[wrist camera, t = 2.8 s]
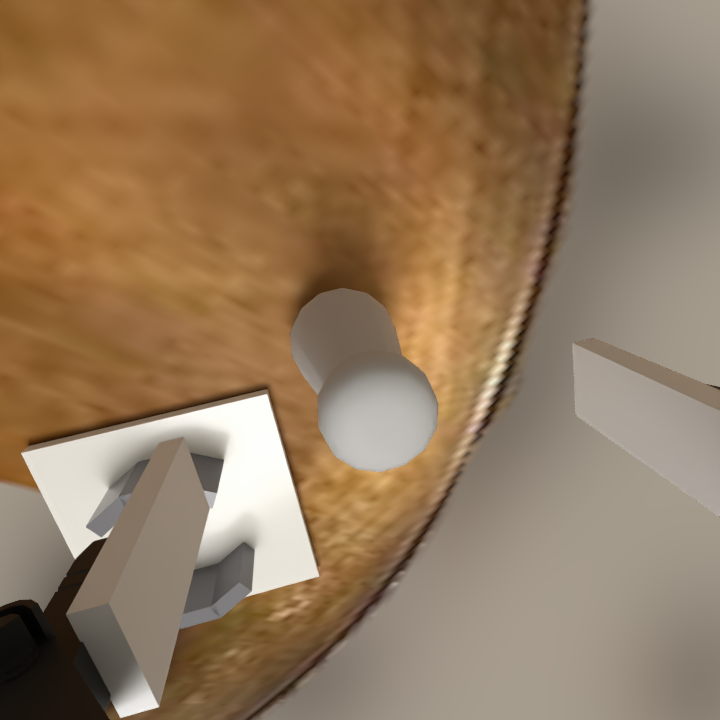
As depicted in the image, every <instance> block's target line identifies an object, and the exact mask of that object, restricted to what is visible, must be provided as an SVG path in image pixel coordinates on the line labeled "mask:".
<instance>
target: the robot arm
mask: <svg viewBox="0 0 720 720" xmlns="http://www.w3.org/2000/svg"><path fill="white" fill-rule="evenodd" d="M572 345H573V366H574V367H573V368H574V389H575V412H576V416H577V417H579V418H580V419H582V420H583V421H584V422H586V423H587V424H589V425H590V426H592V427H593V428H594V429H596V430H597V431H599V432H600V433H601V434H603V435H604V436H606V437H607V438H609V439H610V440H611V441H613V442H614V443H616V444H617V445H618V446H620V447H621V448H623V449H624V450H626V451H627V452H628V453H630V454H631V455H633V456H634V457H636V458H637V459H638V460H640V461H641V462H643V463H644V464H646V465H647V466H648V467H650V468H651V469H652V470H654V471H655V472H657V473H658V474H660V475H661V476H662V477H664V478H665V479H667V480H668V481H669V482H671V483H672V484H674V485H675V486H677V487H678V488H679V489H681V490H682V491H684V492H685V493H686V494H688V495H689V496H691V497H692V498H694V499H695V500H696V501H698V502H699V503H701V504H702V505H703V506H705V507H706V508H708V509H709V510H711V511H712V512H713V513H715V514H716V515H718V516H719V517H720V387H717V386H712V385H708V384H704V383H701V382H699V381H697V380H694V379H692V378H689V377H687V376H684V375H682V374H680V373H677V372H675V371H672V370H670V369H668V368H665V367H663V366H660V365H658V364H656V363H653V362H651V361H648V360H646V359H643V358H641V357H638V356H636V355H634V354H631V353H629V352H626V351H624V350H622V349H619V348H617V347H614V346H612V345H610V344H607V343H605V342H602V341H600V340H597V339H595V338H591V339H587V340H582V341H579V342H574V343H572ZM209 510H210V508H209V505H208V502H207V499H206V496H205V494H204V491H203V488H202V485H201V483H200V480H199V477H198V474H197V471H196V469H195V466H194V463H193V460H192V457H191V455H190V452H189V449H188V446H187V444H186V441H185V438H184V437H180V438H176V439H172V440H168V441H164V442H160V443H159V444H158V446H157V448H156V450H155V452H154V454H153V455H152V457H151V459H150V461H149V463H148V465H147V466H146V468H145V470H144V472H143V474H142V476H141V477H140V479H139V481H138V483H137V485H136V487H135V488H134V490H133V492H132V494H131V496H130V498H129V499H128V501H127V503H126V505H125V507H124V509H123V510H122V512H121V514H120V516H119V518H118V520H117V521H116V523H115V525H114V527H113V529H112V531H111V532H110V534H109V536H108V537H107V538H103V539H100V540H96V541H93V542H92V543H91V544H90V545H89V546H88V547H87V548H86V549H85V550H84V551H83V552H82V553H81V554H80V555H79V556H78V557H77V558H76V559H75V561H74V563H73V564H72V566H71V568H70V569H69V571H68V573H67V577H65V578H64V579H63V581H62V582H61V584H60V586H59V588H58V592H55V594H54V596H53V598H52V599H51V601H50V602H49V604H48V606H47V608H46V609H45V611H44V612H42V610H41V608H40V606H39V605H38V603H36V602H34V601H33V600H18V601H15V602H12V603H9V604H6V605H4V606H2V607H0V720H110V719H109V718H108V716H107V715H106V713H105V710H106V707H107V705H108V702H109V699H111V701H112V703H113V705H114V707H115V709H116V710H117V712H118V714H119V716H120V718H122V717H126V716H129V715H132V714H136V713H139V712H143V711H146V710H150V709H153V708H157V707H159V705H160V701H161V697H162V693H163V690H164V686H165V682H166V678H167V674H168V670H169V666H170V662H171V658H172V654H173V650H174V646H175V643H176V639H177V635H178V631H179V627H180V623H181V619H182V615H183V611H184V607H185V603H186V600H187V596H188V592H189V588H190V584H191V580H192V576H193V572H194V568H195V564H196V560H197V557H198V553H199V549H200V545H201V541H202V537H203V533H204V529H205V525H206V521H207V517H208V514H209Z"/></svg>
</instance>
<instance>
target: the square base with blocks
mask: <svg viewBox="0 0 720 720" xmlns="http://www.w3.org/2000/svg"><path fill="white" fill-rule="evenodd" d="M180 437H184V438H185V441H186V444H187V446H188V449H189V452H190V455H191V457H192V460H193V463H194V466H195V469H196V471H197V474H198V477H199V480H200V483H201V485H202V488H203V491H204V494H205V496H206V499H207V502H208V505H209V508H210V510H209V514H208V517H207V521H206V525H205V529H204V533H203V537H202V541H201V545H200V549H199V553H198V557H197V560H196V564H195V568H194V572H193V576H192V580H191V584H190V588H189V592H188V596H187V600H186V603H185V607H184V611H183V615H182V619H181V623H180V627H179V629H182V628H186V627H189V626H193V625H196V624H200V623H203V622H207V621H211V620H214V619H218V618H221V617H222V616H223V615H225V614H226V613H227V612H228V611H229V610H230V609H232V608H233V607H234V606H235V605H236V604H238V603H239V602H240V601H241V600H242V599H243V598H245V597H247V596H250V595H254V594H257V593H261V592H265V591H268V590H272V589H275V588H279V587H283V586H286V585H290V584H293V583H297V582H301V581H304V580H308V579H311V578H315V577H318V576H319V570H318V565H317V562H316V558H315V554H314V551H313V547H312V544H311V540H310V537H309V533H308V530H307V526H306V523H305V519H304V516H303V512H302V509H301V505H300V501H299V498H298V494H297V491H296V487H295V484H294V480H293V477H292V473H291V470H290V466H289V463H288V459H287V456H286V452H285V449H284V445H283V441H282V438H281V434H280V431H279V427H278V424H277V420H276V417H275V413H274V410H273V406H272V403H271V399H270V396H269V392H268V389H265V390H261V391H257V392H253V393H249V394H244V395H240V396H236V397H232V398H228V399H223V400H219V401H215V402H211V403H207V404H203V405H198V406H194V407H190V408H186V409H182V410H178V411H173V412H169V413H165V414H161V415H157V416H152V417H148V418H144V419H140V420H136V421H132V422H127V423H123V424H119V425H115V426H111V427H106V428H102V429H98V430H94V431H90V432H86V433H81V434H77V435H73V436H69V437H65V438H61V439H56V440H52V441H48V442H44V443H40V444H35V445H31V446H28V447H27V448H26V449H25V450H24V451H23V452H22V453H21V454H22V456H23V458H24V460H25V462H26V464H27V466H28V468H29V470H30V472H31V474H32V476H33V478H34V480H35V482H36V484H37V486H38V487H39V489H40V491H41V493H42V495H43V497H44V499H45V501H46V503H47V505H48V507H49V509H50V511H51V513H52V515H53V517H54V519H55V521H56V523H57V525H58V527H59V529H60V531H61V533H62V534H63V537H64V538H65V541H66V543H67V545H68V546H69V549H70V551H71V552H72V554H73V556H74V558H75V559H76V558H77V557H78V556H79V555H80V554H81V553H82V552H83V551H84V550H85V549H86V548H87V547H88V546H89V545H90V544H91V543H92V542H93V541H96V540H100V539H103V538H107V537H108V536H109V534H110V532H111V531H112V529H113V527H114V525H115V523H116V521H117V520H118V518H119V516H120V514H121V512H122V510H123V509H124V507H125V505H126V503H127V501H128V499H129V498H130V496H131V494H132V492H133V490H134V488H135V487H136V485H137V483H138V481H139V479H140V477H141V476H142V474H143V472H144V470H145V468H146V466H147V465H148V463H149V461H150V459H151V457H152V455H153V454H154V452H155V450H156V448H157V446H158V444H159V443H160V442H164V441H168V440H172V439H176V438H180Z"/></svg>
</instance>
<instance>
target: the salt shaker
mask: <svg viewBox="0 0 720 720" xmlns="http://www.w3.org/2000/svg"><path fill="white" fill-rule="evenodd" d="M290 336H291V352H292V357H293V359H294V360H295V362H296V364H297V366H298V368H299V370H300V372H301V373H302V375H303V377H304V378H305V379H306V380H307V382H308V383H309V384H310V385H311V387H312V388H313V389H314V390H315V392H316V393H317V394H318V418H319V429H320V431H321V433H322V435H323V436H324V438H325V440H326V442H327V443H328V445H329V447H330V449H331V450H332V452H333V454H334V455H335V457H337V458H338V459H340V460H342V461H343V462H345V463H347V464H348V465H350V466H352V467H353V468H355V469H359V470H367V471H375V472H383V471H386V470H390V469H393V468H396V467H400V466H403V465H405V464H407V463H408V462H409V461H411V460H412V459H413V458H414V457H416V456H417V455H418V454H420V453H421V452H422V451H424V450H425V448H426V447H427V445H428V443H429V441H430V439H431V437H432V435H433V434H434V432H435V430H436V428H437V415H438V402H437V399H436V396H435V394H434V392H433V389H432V387H431V385H430V383H429V381H428V379H427V377H426V375H425V373H424V372H423V371H421V370H420V369H419V368H418V367H417V366H415V365H414V364H413V363H412V362H410V361H409V360H408V359H406V358H405V357H404V356H402V353H401V349H400V345H399V341H398V337H397V333H396V328H395V326H394V324H393V322H392V320H391V318H390V316H389V314H388V311H387V309H386V307H385V306H383V305H382V304H381V303H379V302H378V301H377V300H376V299H374V298H373V297H372V296H371V295H369V294H368V293H366V292H361V291H356V290H351V289H346V288H339V289H335V290H331V291H327V292H323V293H319V294H318V295H317V296H316V297H315V298H313V299H312V300H311V301H310V302H309V303H307V304H306V305H305V306H304V307H303V308H302V309H301V310H300V312H299V314H298V317H297V319H296V321H295V323H294V325H293V327H292V330H291V332H290Z"/></svg>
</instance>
